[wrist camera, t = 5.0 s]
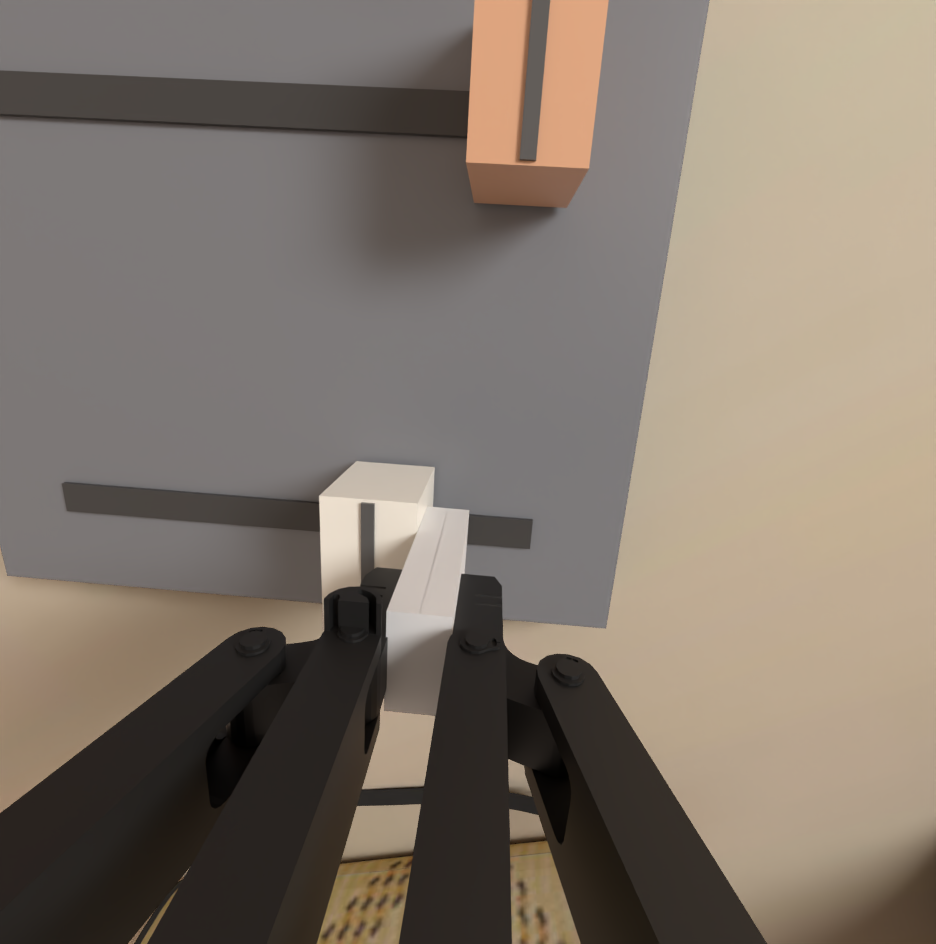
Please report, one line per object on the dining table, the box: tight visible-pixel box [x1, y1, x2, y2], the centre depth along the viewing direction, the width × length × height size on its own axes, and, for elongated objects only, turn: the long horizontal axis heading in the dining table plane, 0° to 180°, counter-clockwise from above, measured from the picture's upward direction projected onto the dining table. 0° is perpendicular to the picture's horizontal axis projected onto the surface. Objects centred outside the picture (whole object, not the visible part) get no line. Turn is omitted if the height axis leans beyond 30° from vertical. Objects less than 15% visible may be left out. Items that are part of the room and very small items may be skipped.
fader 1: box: [319, 461, 435, 632], centre depth 17 cm, size 5×3×4 cm, turn 177°
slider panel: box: [0, 0, 709, 628], centre depth 19 cm, size 22×26×3 cm
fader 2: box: [466, 0, 609, 208], centre depth 13 cm, size 5×3×4 cm, turn 176°
